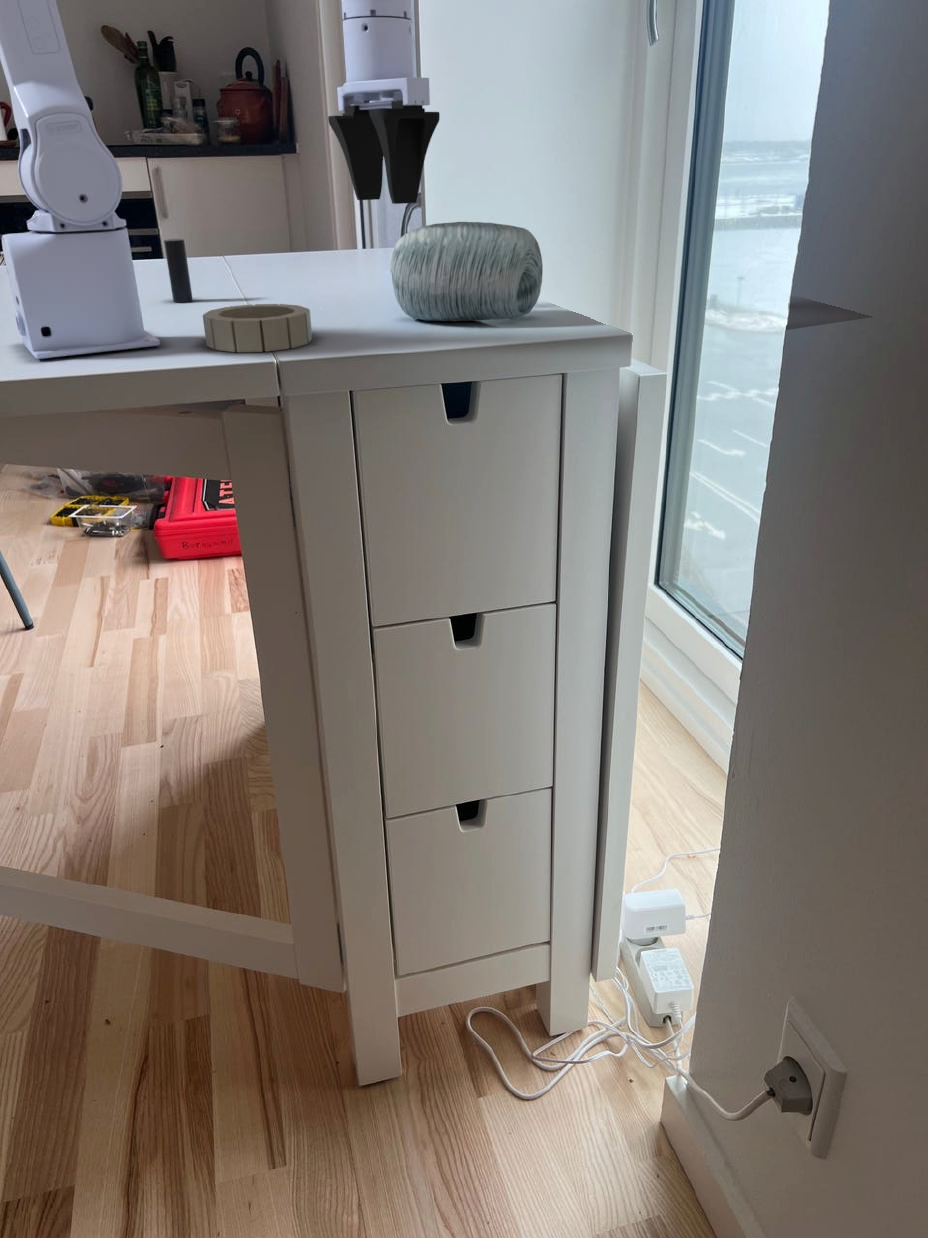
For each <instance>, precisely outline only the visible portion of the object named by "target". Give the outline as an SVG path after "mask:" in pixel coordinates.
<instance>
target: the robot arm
mask: <svg viewBox="0 0 928 1238" xmlns="http://www.w3.org/2000/svg"><path fill="white" fill-rule="evenodd" d="M58 8H59V7H58V4H57V1H56V0H0V64H1V67H2V70H3V73H4V77H5V80H6V83H7V87H8V90H9V96H10V102H11V106H12V113H13V118H14V119H13V120H14V123H15V126H16V130H17V133H18V137H19V143H20V147H19V148H20V149H19V156H18V162H17V175H18V181H19V183H20V186H21V188H22V191H23V192H24V194H25V196H26V198H28V200H29V201H30V202H31V203H32V205H33V206H34V207H36V208H37V210H35V211H34V213H33V215H32V216H31V218H29V219H28V220H26V225H27V226H26V227H27V230H29V231H26V232H18V233H7V234H6V233H5V234H3V235H2V236H1V246H2V247H1V248H2V252H3V258H4V262H5V267H6V272H7V273H6V274H7V277H8V281H9V285H10V290H11V294H12V298H13V302H14V303H13V304H14V307H15V312H14V316H15V317H14V318H15V321H16V325H17V329H18V333H19V335H20V336H21V337H22V339H21V340H22V344H23V345H24V346H25V348H27V350H28V351H29V352H30V354H32V356H33V357H34V358H35V359H38V360H39V359H40V360H41V359H49V358H59V357H66V356H68V357H69V356H76V355H86V354H95V353H96V354H97V353H104V352H114V351H122V350H129V349H130V350H131V349H140V348H148V347H157V346H160V345H161V342H160V339H159V338H157V337H156V336H154V335H153V334H151V333H150V332H148V331H147V330H145V326H144V325H145V324H144V320H143V314H142V308H141V303H140V296H139V291H138V284H137V278H136V273H135V268H134V267H135V266H134V262H133V261H134V260H133V256H132V249H131V243H130V239H129V232H128V228H127V227H126V226H127V220H126V219H124V218H120V217H119V216H118V214H117V213H116V212H115V211H116V209H117V208H118V207H119V204H120V202H121V199H122V194H123V178H122V173H121V169H120V166H119V165H118V162H117V160H116V159H115V157H114V155H113V153H112V152H111V151H110V150H109V148H108V147H107V146H106V145H105V144H104V142H103V141H102V139H101V138H100V136H99V134H98V133H99V132H97V128H96V126H95V123H94V119H93V115H92V111H91V109H90V107H89V104H88V102H87V99H86V97H85V96H84V93H83V90H82V88H81V87H80V85H79V82H78V80H77V76H76V71H75V69H74V65H73V61H72V57H71V54H70V49H69V46H68V42H67V38H66V35H65V31H64V27H63V24H62V19H61V16H60V12H59V9H58ZM341 16H342V18H341V19H342V33H343V50H344V51H343V52H344V65H345V67H344V68H345V82H344V83H343V85H342V86H338V87H337V88H336V89H337V91H336V92H337V105H338V112H343V113H342V115H329V116H328V117H327V119H328V124H329V126H330V128H331V130H332V131H333V133H334V135H335V137H336V139H337V141H338V143H339V145H340V148H341V150H342V152H343V156H344V159H345V161H346V166H347V168H348V173H349V175H350V181H351V184H352V189H353V191H354V195H355V197H356V200H357V201H372V200H373V201H376V200H381V197H382V188H383V170H384V168H383V167H384V166H385V174H386V182H387V189H388V194H389V198H390V201H391V204H393V205H400V204H401V205H402V204H416V203H417V201H418V197H419V192H420V186H421V181H422V180H421V179H422V174H423V169H424V165H425V160H426V156H427V152H428V149H429V146H430V143H431V140H432V138H433V135H434V133H435V130H436V128H437V126H438V124H439V122H440V119H441V117H440V115H441V114H440V111H426V109H425V107H423V106H430V105H431V99H430V98H431V97H430V77H414V55H413V53H414V52H413V24H412V0H341ZM382 99H389V100H383V101H382ZM390 99H391V100H390Z"/></svg>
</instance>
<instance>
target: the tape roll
mask: <svg viewBox="0 0 928 1238" xmlns="http://www.w3.org/2000/svg"><path fill="white" fill-rule="evenodd" d="M311 318H312V317H311V310H310V309H309V308H308V307H304V306H301V305H299V304H297V305H296V304H288V303H287V304H285V303H255V304H242V305H232V306H231V305H230V306H224V307H219V308H215V309H210V310H208V311H207V312H205V313H204V314H203V315H202V322H203V329H204V335H205V343H206V346H207V347H208V348H210V349H211V350H214V351H219V352H227V353H228V352H229V353H263V352H276V351H283V350H289V349H295V348H299V347H303V346H306V345H308V344H310V342H311V341H312V340H313V332H312V331H313V329H312V320H311Z"/></svg>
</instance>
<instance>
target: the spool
mask: <svg viewBox="0 0 928 1238" xmlns="http://www.w3.org/2000/svg"><path fill="white" fill-rule="evenodd" d="M389 264H390V274H391V282H392V286H393V293H394V296H395V299H396V301H397V303H398V305H399V307H400V309H401V310H402V312H404V314H405V315H407V316H409V317H411V318H412V319H414V320H423V321H428V322H433V321H435V322H464V321H469V322H470V321H491V320H505V319H506V320H507V319H510V320H513V319H518V318H520V317H524V316H526V315H528V314H530V312H532V310H533V308H534V307H535V306H536V304H537V303H538V300H539V297H540V294H541V290H542V289H541V287H542V283H543V272H544V271H543V270H544V269H543V268H544V267H543V256H542V253H541V248H540V245H539V242H538V240H537V239H536V237H535V236H534V234H533V233H532V232H531V231H530V230H528V229H526V227H521V226H515V225H511V224H502V223H496V222H483V221H453V222H443V223H442V222H438V223H432V224H428V225H424V226H420V227H418V228H415V229H413V230H410V231H408V232H407V233H405V234H403V235H402V236H401V237H400V238H399V239H398V240H397V242H396V243H395V245H394V247H392V250H391V252H390V259H389Z"/></svg>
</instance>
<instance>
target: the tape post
mask: <svg viewBox="0 0 928 1238" xmlns="http://www.w3.org/2000/svg"><path fill="white" fill-rule="evenodd" d="M163 243H164V250H165V256H166V263H167V269H168V277H169V283H170V289H171V295H172V302H174V303H190V302H193V300H194V298H193V291H192V284H191V279H190V271H189V264H188V258H187V256H188V255H187V250H186V244H185V243H186V241H185V239H183V238H174V239H173V238H172V239H171V238H170V239H164V240H163Z"/></svg>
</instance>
